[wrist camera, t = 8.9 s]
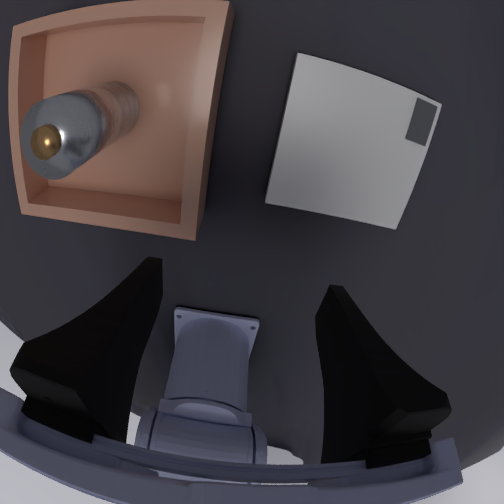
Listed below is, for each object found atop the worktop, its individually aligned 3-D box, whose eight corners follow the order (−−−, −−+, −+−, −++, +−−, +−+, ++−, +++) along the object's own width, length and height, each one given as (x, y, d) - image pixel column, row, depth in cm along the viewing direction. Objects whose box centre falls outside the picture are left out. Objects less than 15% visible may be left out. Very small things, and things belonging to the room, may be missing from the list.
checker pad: (391, 223, 21) (396, 230, 20) (265, 197, 20) (265, 204, 20) (435, 102, 15) (443, 105, 15) (296, 53, 15) (298, 52, 14)
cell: (138, 140, 17) (79, 187, 11) (87, 137, 17) (19, 182, 11) (142, 80, 15) (77, 97, 9) (88, 82, 15) (12, 104, 9)
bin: (204, 213, 21) (195, 240, 18) (45, 193, 20) (21, 213, 17) (235, 12, 13) (229, 1, 10) (43, 25, 12) (13, 26, 9)
